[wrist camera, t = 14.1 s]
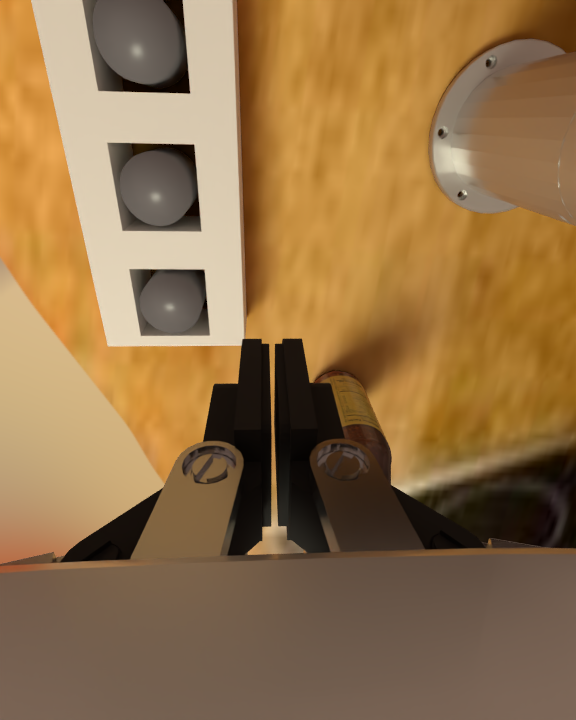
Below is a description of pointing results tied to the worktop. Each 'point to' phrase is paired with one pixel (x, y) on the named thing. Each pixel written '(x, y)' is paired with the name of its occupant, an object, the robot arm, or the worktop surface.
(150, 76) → the near cap
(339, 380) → the sauce bottle
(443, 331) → the worktop surface
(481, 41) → the worktop surface
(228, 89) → the button panel
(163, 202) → the middle cap
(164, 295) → the far cap
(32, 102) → the worktop surface
